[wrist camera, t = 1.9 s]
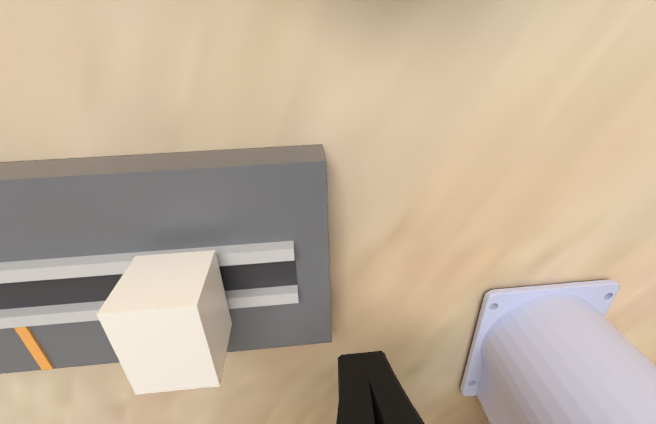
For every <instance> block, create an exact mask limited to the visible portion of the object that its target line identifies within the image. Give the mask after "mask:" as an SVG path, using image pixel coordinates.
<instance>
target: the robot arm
mask: <svg viewBox="0 0 656 424" xmlns="http://www.w3.org/2000/svg"><path fill="white" fill-rule="evenodd" d="M618 289H619V284H618V283H617V282H615V281H614V280H612V279H608V280H596V281H585V282H573V283H562V284H550V285H539V286H527V287H516V288H505V289H493V290H490V291H488V292H487V293H486V294H485V296H484V299H483V303H482V306H481V310H480V314H479V318H478V322H477V326H476V330H475V334H474V337H473V341H472V345H471V349H470V353H469V357H468V361H467V365H466V368H465V372H464V376H463V380H462V384H461V388H460V390H461V393H462V394H463V395H464V396H477V398H478V400H479V402H480V404H481V406H482V408H483V410H484V412H485V414H486V416H487V418H488V420H489V422H490V424H656V365H655V364H653V363H652V362H651V361H650V360H649V359H648V358H647V357H646V356H645V355H644V354H643V353H642V352H641V351H640V350H639V349H638V348H637V347H636V346H634V345H633V344H632V343H631V342H630V341H629V340H628V339H627V338H626V337H625V336H624V335H623V334H622V333H621V332H620V331H619V330H618V329H617V328H616V327H614V326H613V325H612V324H611V323H610V322H609V321H608V320H607V319H606V318H605V315H606V313H607V311H608V309H609V307H610V305H611V303H612V301H613V299H614V297H615V295H616V293H617V291H618ZM338 383H339V406H338V415H337V424H425V423H424V422H423V420H422V419H421V417H420V416H419V414H418V412H417V411H416V409H415V408H414V406H413V405H412V403H411V401H410V400H409V398H408V396H407V395H406V393H405V391H404V390H403V388H402V386H401V384H400V383H399V381H398V379H397V377H396V375H395V374H394V372H393V370H392V368H391V366H390V364H389V362H388V360H387V358H386V356H385V353H383V352H382V351H376V352H366V353H356V354H346V355H341V356H340V357H339V358H338Z"/></svg>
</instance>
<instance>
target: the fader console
mask: <svg viewBox="0 0 656 424" xmlns="http://www.w3.org/2000/svg"><path fill="white" fill-rule="evenodd" d="M209 250H215V252H216V256H217V260H218V265H219V269H220V274H221V278H222V282H223V287H224V291H225V295H226V300H227V304H228V308H229V313H230V317H231V322H232V326H231V331H230V336H229V341H228V347H227V352H234V351H244V350H255V349H265V348H276V347H286V346H297V345H307V344H318V343H328V342H332V331H331V299H330V268H329V236H328V205H327V173H326V158H325V154H324V150H323V146H322V144H320V145H302V146H284V147H266V148H249V149H231V150H213V151H195V152H177V153H159V154H141V155H123V156H105V157H87V158H69V159H52V160H34V161H16V162H0V374H2V373H12V372H23V371H33V370H50V369H54V368H65V367H75V366H86V365H97V364H107V363H118V362H120V361H119V359H118V357H117V355H116V353H115V351H114V349H113V347H112V345H111V343H110V341H109V339H108V337H107V335H106V333H105V331H104V329H103V327H102V325H101V323H100V321H99V319H98V317H97V315H96V314H97V313H98V311H99V310H100V308H101V307H102V305H103V304H104V302H105V301H106V299H107V298H108V296H109V295H110V293H111V292H112V290H113V289H114V287H115V286H116V284H117V283H118V281H119V280H120V278H121V277H122V275H123V274H124V272H125V271H126V269H127V268H128V266H129V265H130V263H131V262H132V260H133V259H134V257H135V256H142V255H156V254H169V253H182V252H196V251H209Z"/></svg>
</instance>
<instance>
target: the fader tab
mask: <svg viewBox="0 0 656 424" xmlns="http://www.w3.org/2000/svg"><path fill="white" fill-rule="evenodd" d="M96 315H97V317H98V319H99V321H100V323H101V325H102V327H103V329H104V331H105V333H106V335H107V337H108V339H109V341H110V343H111V345H112V347H113V349H114V351H115V353H116V355H117V357H118V359H119V361H120V363H121V366H122V368H123V370H124V372H125V374H126V376H127V378H128V380H129V382H130V384H131V386H132V388H133V390H134V392H135V394H146V393H156V392H166V391H176V390H186V389H195V388H205V387H215V386H220V382H221V377H222V372H223V367H224V362H225V357H226V352H227V347H228V341H229V336H230V331H231V326H232V322H231V317H230V313H229V308H228V304H227V300H226V295H225V291H224V287H223V282H222V278H221V274H220V269H219V265H218V260H217V256H216V252H215V250H209V251H196V252H182V253H169V254H156V255H142V256H135V257H134V259H133V260H132V262H131V263H130V265H129V266H128V268H127V269H126V271H125V272H124V274H123V275H122V277H121V278H120V280H119V281H118V283H117V284H116V286H115V287H114V289H113V290H112V292H111V293H110V295H109V296H108V298H107V299H106V301H105V302H104V304H103V305H102V307H101V308H100V310H99V311H98V313H97V314H96Z"/></svg>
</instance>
